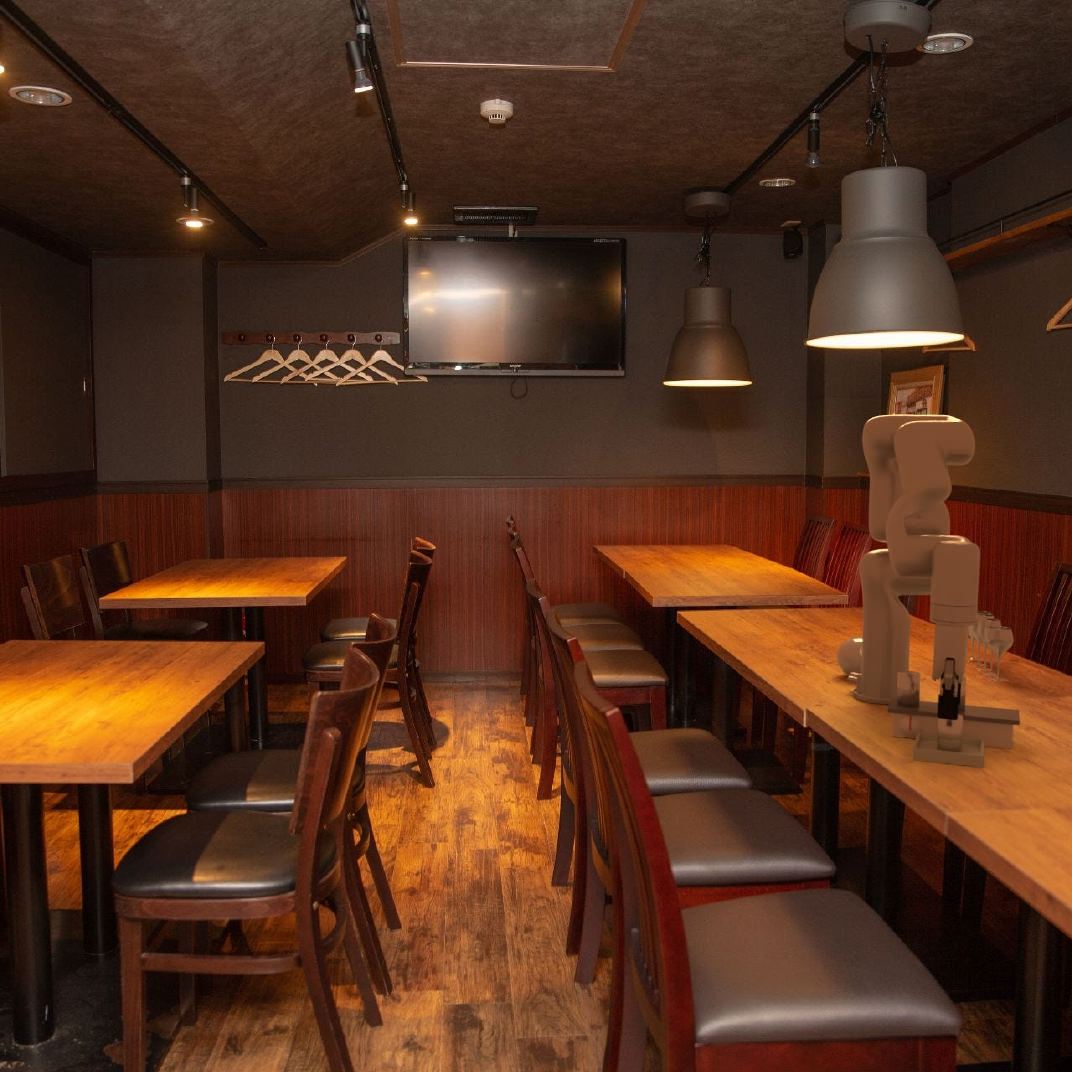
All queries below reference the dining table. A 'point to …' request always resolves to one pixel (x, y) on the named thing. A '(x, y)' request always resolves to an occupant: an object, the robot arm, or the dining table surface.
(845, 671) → the potion bottle
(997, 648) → the goblet set
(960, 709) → the knob
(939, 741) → the cylinder
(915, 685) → the left steel weight
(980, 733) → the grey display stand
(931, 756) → the grey square tray
